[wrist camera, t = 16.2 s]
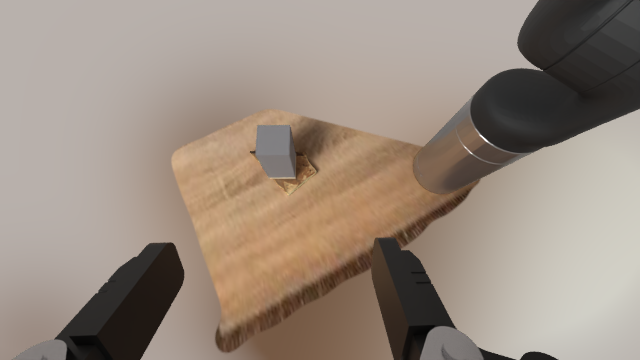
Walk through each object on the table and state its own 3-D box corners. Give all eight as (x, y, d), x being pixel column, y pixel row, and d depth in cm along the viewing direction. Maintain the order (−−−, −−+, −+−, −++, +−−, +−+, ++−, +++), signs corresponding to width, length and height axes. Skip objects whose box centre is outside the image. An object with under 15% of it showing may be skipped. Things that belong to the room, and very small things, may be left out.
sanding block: (296, 153, 44) (290, 124, 34) (295, 178, 42) (289, 155, 33) (270, 154, 43) (257, 124, 34) (268, 178, 42) (254, 155, 33)
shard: (251, 154, 45) (249, 150, 44) (284, 131, 47) (283, 126, 45) (288, 198, 43) (286, 195, 41) (321, 171, 45) (321, 168, 43)
